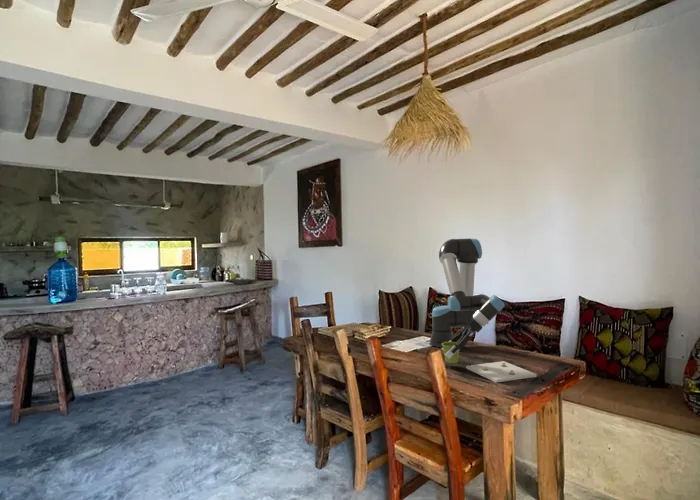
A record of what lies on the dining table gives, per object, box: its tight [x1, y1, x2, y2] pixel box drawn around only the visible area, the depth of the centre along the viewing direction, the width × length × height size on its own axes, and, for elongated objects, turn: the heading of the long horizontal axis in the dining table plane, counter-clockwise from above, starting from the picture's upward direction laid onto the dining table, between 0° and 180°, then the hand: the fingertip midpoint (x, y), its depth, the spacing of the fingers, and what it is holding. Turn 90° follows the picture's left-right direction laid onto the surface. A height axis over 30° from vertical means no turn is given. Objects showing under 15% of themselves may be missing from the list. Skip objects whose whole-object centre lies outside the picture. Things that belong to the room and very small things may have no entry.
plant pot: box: [442, 342, 461, 364], centre depth 200 cm, size 9×9×9 cm
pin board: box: [465, 360, 538, 383], centre depth 190 cm, size 22×22×3 cm
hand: (445, 353), depth 200 cm, fingers closed on plant pot, 9 cm apart
